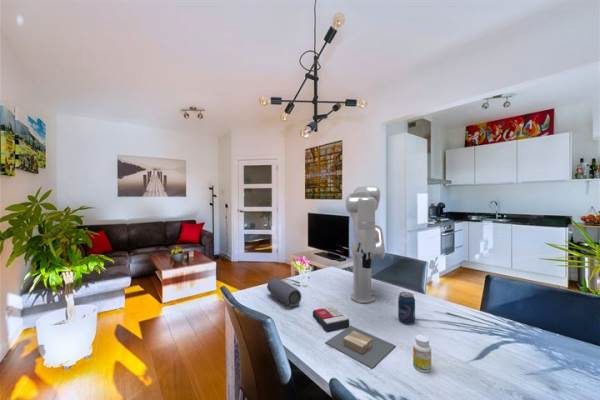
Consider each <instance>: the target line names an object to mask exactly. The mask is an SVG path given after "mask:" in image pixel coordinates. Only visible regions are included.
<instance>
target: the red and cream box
mask: <svg viewBox="0 0 600 400" xmlns="http://www.w3.org/2000/svg"><path fill="white" fill-rule="evenodd" d="M312 317H313V319H315V321H316V322H317V324H319V325H320V326H321V327H322V329H323V330H324V332H325V333H331V332H336V331H340V330H345V329H346V328H348V327H349V326H350V320H349V318H348V317H346V316H345V315H344V314H343V313H342V312H340V311H339V310H338V309H337V308H336V307H334V306H328V307H321V308H318V309H317V308H316V309H314V310H313V311H312Z"/></svg>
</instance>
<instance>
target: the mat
mask: <svg viewBox="0 0 600 400" xmlns="http://www.w3.org/2000/svg"><path fill="white" fill-rule="evenodd" d="M353 331H355V332H358V333H360V334H362V335H364V336H367V337H369V338H371V339H372V346H371V347H370V348H369V349H368V350H367V351H365V352H364V353H363V354H361V353H359V352H357V351H355V350H353V349H351V348H349V347H347V346H345V345H344V341H343V338H344V337H346V336H347V335H349V334H350V333H351V332H353ZM325 344H326V345H327V346H329V347H331V348H333V349H335V350H337V351H339V352H340V353H343V354H344V355H346V356H348V357H350V358H351V359H353V360H355V361H357V362H358V363H360V364H362V365H364V366H366V367H368V368H370V369H372V370H373V369H374V368H376V366H377V365H379V363H380V362H381V361H383V359H384V358H386V357H387V356H388V354H390V353H391V352H392V351H393V350H394V349H395V348H396V347H397V345H395V344H393V343H391V342H389V341H387V340H384V339H382V338H380V337H377V336H375V335H373V334H371V333H368V332H366V331H365V330H362V329H359V328H357V327H355V326H352V325H349V327H348V328H346V329H342V331H340V332H339V333H337V334H335V335H334V336H332V337H331V338H329V339H327V340H326V341H325Z"/></svg>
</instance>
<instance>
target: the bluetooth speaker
mask: <svg viewBox="0 0 600 400" xmlns="http://www.w3.org/2000/svg"><path fill="white" fill-rule="evenodd" d="M266 288H267V290H268V292H270V294H272V295H273V297H275V298H277V300H278V301H279V302H281V303H282V304H284V305H287V306H290V307H295V306H298V305H299V304H300V302H301V301H302V293H301V292H300V291H299V290H298V289H297V288H296V287H294V286H293V285H292V284H289V283H288V282H286V281H284V280H281V279H279V278H277V277H272V278H270V280H269V281H268V282H267V284H266Z"/></svg>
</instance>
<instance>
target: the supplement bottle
mask: <svg viewBox="0 0 600 400" xmlns="http://www.w3.org/2000/svg"><path fill="white" fill-rule="evenodd" d="M414 340H415V341H414V342H413V344H412V347H413V348H412V350H413V353H412V354H413V355H412V357H413V359H412V360H413V364H412V365H413V366H414V368H415V369H416V370H417V371H420V372H422V373H430V372H431V371H432V347H431V345H430V339H429V337H427V336H426V335H424V334H423V335H422V334H417V335H415V339H414Z"/></svg>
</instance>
